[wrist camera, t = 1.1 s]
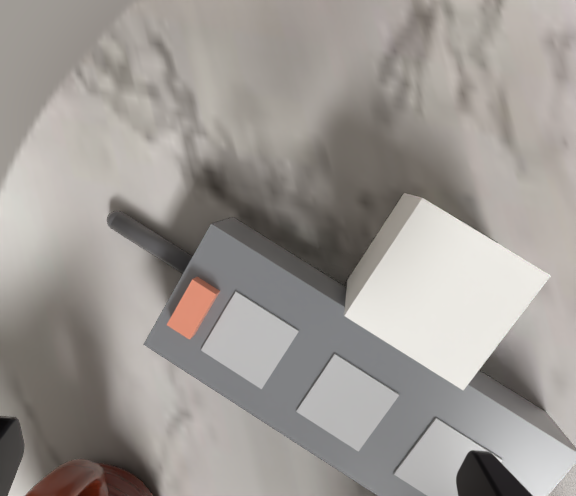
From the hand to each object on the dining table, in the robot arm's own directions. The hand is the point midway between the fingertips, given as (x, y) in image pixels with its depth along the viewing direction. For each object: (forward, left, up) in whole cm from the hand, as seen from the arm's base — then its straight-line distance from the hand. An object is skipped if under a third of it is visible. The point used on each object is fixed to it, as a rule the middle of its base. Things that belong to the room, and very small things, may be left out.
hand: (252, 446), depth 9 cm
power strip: (-1, +2, -14) cm, 14 cm away
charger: (-4, -2, -14) cm, 15 cm away
